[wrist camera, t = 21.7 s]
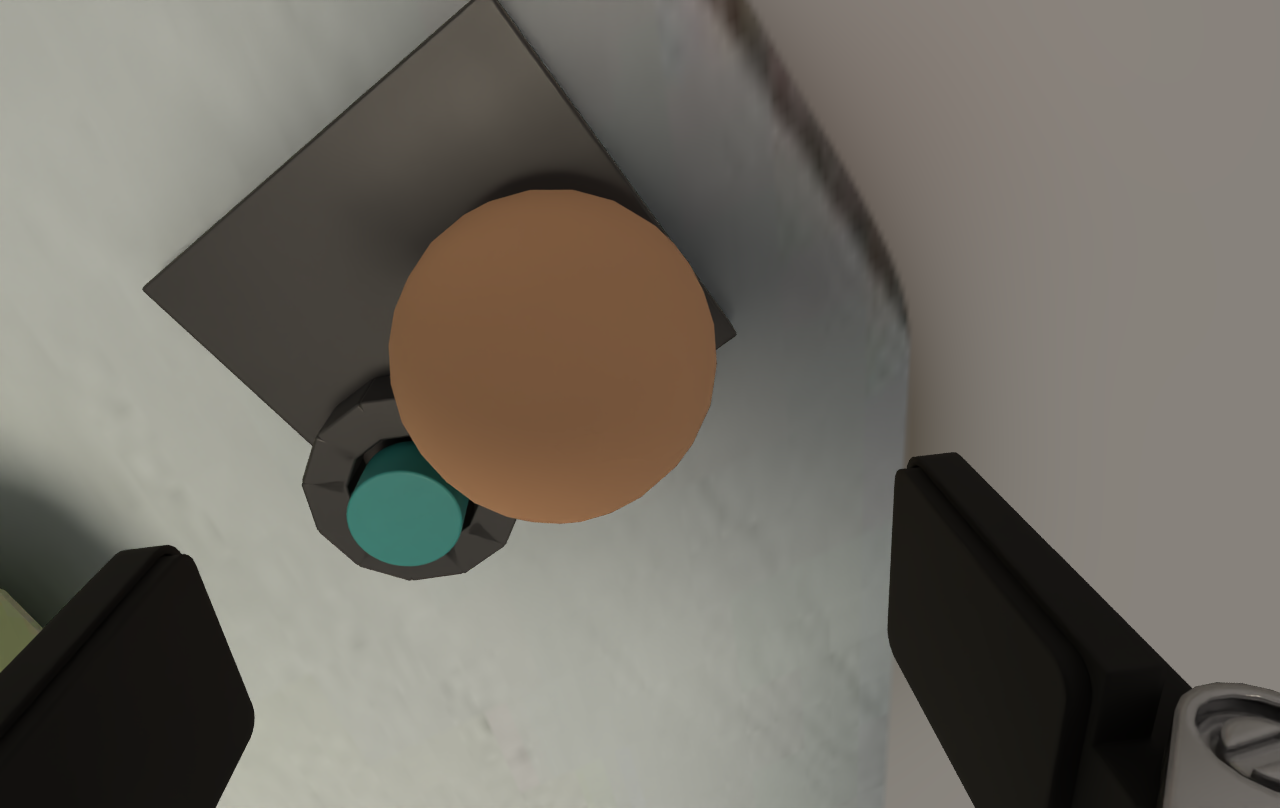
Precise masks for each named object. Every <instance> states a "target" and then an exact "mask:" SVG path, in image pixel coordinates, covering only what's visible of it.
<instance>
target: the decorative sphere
mask: <svg viewBox="0 0 1280 808" xmlns="http://www.w3.org/2000/svg"><path fill="white" fill-rule="evenodd" d="M42 629H43V628H42V627H41V626H40V625H39V624H38V623H37V622H36V621H35V620H34V619H33V618H32V617H31V616H30V615H29V614H28V613H27V612H26V611H25V610H24V609H23V608H22V607H21V606H20V605H19V604H18V603H17V602H16V601H15V600H14V599H13V598H12V597H11V596H10V595H9V594H8V593H7V592H6V591H5V590H2V589H0V672H1V671H2V670H3V669H4V668H5V667H6V666H7V665H8V664H9V663H10V662H11V661H12V660H13V659H14V658H15V657H16V656H17V655H18V654H19V653H20V652H21V651H22V650H23V649H24V648H25V647H26V646H27V645H28V644H29V643H30V642H31V641H32V640H33V639H34V638H35V636H36V635H37V634H38V633H39V632H40V631H41V630H42Z"/></svg>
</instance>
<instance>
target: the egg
mask: <svg viewBox="0 0 1280 808" xmlns="http://www.w3.org/2000/svg"><path fill="white" fill-rule="evenodd" d="M389 362H390V379H391V387H392V390H393V394H394V397H395V401H396V404H397V407H398V411H399V414H400V418H401V421H402V423H403V425H404V427H405V428H406V430H407V432H408V433H409V435H410V437H411V438H412V440H413V442H414V443H415V445H416V447H417V448H418V450H419V452H420V453H421V455H422V456H423V457H424V458H425V459H426V460H427V461H428V462H429V464H430V465H431V466H432V467H433V468H434V469H435V470H436V471H437V472H438V473H439V474H440V476H441V477H442V478H443V479H444V480H445V481H446V482H447V483H449V484H450V485H451V486H453V487H454V488H455V489H457V490H458V491H459V492H461V493H462V494H463V495H465V496H466V497H467V498H469V499H470V500H471V501H473V502H474V503H476V504H478V505H481V506H483V507H485V508H487V509H490V510H492V511H494V512H497V513H499V514H501V515H504V516H506V517H510V518H515V519H520V520H525V521H530V522H540V523H557V524H562V523H574V522H582V521H585V520H589V519H592V518H596V517H599V516H602V515H606V514H609V513H612V512H614V511H616V510H618V509H619V508H621V507H623V506H625V505H627V504H629V503H631V502H633V501H635V500H636V499H638V498H640V497H642V496H643V495H644V494H645V493H646V492H647V491H649V490H650V489H651V488H652V487H653V486H654V485H655V484H657V483H658V482H659V481H660V480H661V479H662V478H664V477H665V476H666V475H667V474H668V473H669V472H670V471H671V470H673V469H674V468H675V467H676V466H677V465H678V463H679V462H680V460H681V459H682V458H683V456H684V455H685V454H686V452H687V451H688V449H689V448H690V447H691V445H692V444H693V442H694V440H695V438H696V436H697V433H698V431H699V429H700V427H701V425H702V423H703V420H704V418H705V416H706V414H707V412H708V409H709V407H710V405H711V398H712V392H713V385H714V379H715V372H716V365H717V361H716V346H715V331H714V323H713V320H712V316H711V313H710V310H709V307H708V304H707V300H706V297H705V294H704V291H703V289H702V287H701V285H700V283H699V281H698V280H697V278H696V276H695V274H694V272H693V270H692V268H691V266H690V264H689V263H688V262H687V260H686V259H685V258H684V256H683V255H682V254H681V252H680V251H679V250H678V248H677V247H676V246H675V244H674V243H673V242H672V241H671V240H670V239H669V238H668V237H666V236H665V235H664V234H663V233H662V232H661V231H660V230H659V229H658V228H657V227H656V226H655V225H653V224H651V223H650V222H648V221H647V220H645V219H643V218H642V217H640V216H638V215H637V214H635V213H633V212H632V211H630V210H628V209H627V208H625V207H623V206H622V205H620V204H618V203H617V202H615V201H613V200H609V199H605V198H602V197H598V196H594V195H590V194H587V193H583V192H579V191H576V190H528V191H525V192H521V193H517V194H514V195H510V196H507V197H503V198H500V199H496V200H492V201H489V202H487V203H485V204H483V205H481V206H480V207H478V208H476V209H474V210H472V211H470V212H468V213H466V214H464V215H463V216H462V217H461V218H459V219H458V220H457V221H456V222H455V223H454V224H452V225H451V226H450V227H449V228H448V229H446V230H445V231H444V232H443V233H442V234H440V235H439V236H438V237H437V238H436V239H435V240H433V241H432V242H431V243H430V245H429V246H428V248H427V249H426V251H425V252H424V254H423V255H422V257H421V258H420V260H419V261H418V263H417V265H416V266H415V268H414V269H413V271H412V272H411V274H410V275H409V277H408V279H407V281H406V283H405V286H404V288H403V291H402V293H401V295H400V298H399V300H398V303H397V305H396V307H395V310H394V315H393V321H392V327H391V333H390V339H389Z"/></svg>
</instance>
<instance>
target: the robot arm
mask: <svg viewBox="0 0 1280 808" xmlns="http://www.w3.org/2000/svg"><path fill="white" fill-rule="evenodd" d="M888 638H889V643H890V647H891V650H892V653H893V655H894V657H895V659H896V661H897V663H898V665H899V667H900V668H901V670H902V672H903V674H904V676H905V678H906V679H907V681H908V683H909V685H910V687H911V689H912V691H913V693H914V695H915V696H916V698H917V700H918V702H919V704H920V706H921V708H922V709H923V711H924V713H925V715H926V717H927V719H928V721H929V723H930V724H931V726H932V728H933V730H934V732H935V734H936V735H937V737H938V739H939V741H940V743H941V745H942V747H943V748H944V751H945V752H946V754H947V756H948V758H949V760H950V762H951V764H952V765H953V767H954V769H955V771H956V773H957V775H958V777H959V778H960V780H961V782H962V784H963V786H964V788H965V790H966V791H967V793H968V795H969V797H970V799H971V801H972V803H973V805H974V806H975V808H1280V693H1279V692H1276V691H1274V690H1270V689H1265V688H1261V687H1257V686H1251V685H1247V684H1243V683H1220V682H1216V683H1211V684H1206V685H1201V686H1196V687H1194V688H1193V689H1192V688H1191V687H1190V686H1189V685H1188V684H1187V683H1186V682H1185V681H1184V680H1183V679H1182V678H1181V677H1180V676H1179V675H1178V674H1177V673H1176V672H1175V671H1174V670H1173V669H1172V668H1171V667H1170V666H1169V665H1168V664H1167V662H1166V661H1164V659H1163V658H1162V657H1161V656H1159V654H1158V653H1157V652H1155V650H1154V649H1152V647H1151V646H1150V645H1149V644H1148V643H1147V642H1146V641H1145V640H1144V639H1142V637H1140V635H1139V634H1138V633H1137V632H1136V631H1135V630H1134V629H1133V628H1132V627H1131V626H1130V625H1128V623H1127V622H1126V621H1125V620H1124V619H1123V618H1122V617H1121V616H1120V615H1119V614H1118V613H1117V612H1116V611H1115V610H1113V608H1112V607H1111V606H1110V605H1109V604H1108V603H1107V602H1106V601H1105V600H1104V599H1103V598H1102V597H1101V596H1100V595H1099V594H1098V593H1097V592H1096V591H1095V590H1094V589H1093V588H1092V587H1091V586H1090V585H1089V584H1088V583H1087V582H1086V581H1085V580H1084V579H1083V578H1082V577H1081V576H1080V575H1079V574H1078V573H1077V572H1076V571H1075V570H1074V569H1073V568H1072V567H1071V566H1070V565H1069V564H1068V563H1067V562H1066V561H1065V560H1064V559H1063V558H1062V557H1061V556H1060V555H1059V554H1058V553H1057V552H1056V551H1055V550H1054V549H1053V548H1052V547H1051V546H1050V545H1049V544H1048V543H1047V542H1046V541H1045V540H1044V539H1043V538H1042V537H1041V536H1040V535H1039V534H1038V533H1037V532H1036V531H1035V530H1034V529H1033V528H1032V527H1031V526H1030V525H1029V524H1028V523H1027V522H1026V521H1025V520H1024V519H1023V518H1022V517H1021V516H1020V515H1019V514H1018V513H1017V512H1016V511H1015V510H1014V509H1013V508H1012V507H1011V506H1010V505H1009V504H1008V503H1007V502H1006V501H1005V500H1004V499H1003V498H1002V497H1001V496H1000V495H999V494H998V493H997V492H996V491H995V490H994V489H993V488H992V487H991V486H990V485H989V484H988V483H987V482H986V481H985V480H984V479H983V478H982V477H981V476H980V475H979V474H978V473H977V472H976V471H975V470H974V469H973V468H972V467H971V466H970V465H969V464H968V463H967V462H966V461H965V460H964V459H963V458H962V457H961V456H960V455H959V454H957V453H954V452H951V453H943V454H934V455H926V456H917V457H912V458H911V459H910V460H909V462H908V465H907V469H899V470H898V471H897V473H896V475H895V484H894V504H893V525H892V545H891V566H890V586H889V607H888ZM254 718H255V717H254V709H253V706H252V703H251V700H250V698H249V695H248V693H247V690H246V688H245V685H244V683H243V681H242V678H241V676H240V673H239V671H238V668H237V666H236V663H235V661H234V658H233V656H232V653H231V651H230V648H229V646H228V643H227V641H226V638H225V636H224V633H223V631H222V628H221V626H220V623H219V621H218V618H217V616H216V614H215V611H214V609H213V606H212V604H211V601H210V599H209V596H208V594H207V591H206V589H205V586H204V584H203V581H202V579H201V576H200V574H199V571H198V569H197V566H196V564H195V562H194V560H193V559H192V558H191V557H190V556H189V555H186V554H181V553H180V551H178V550H177V549H176V548H175V547H173V546H170V545H164V546H155V547H147V548H138V549H130V550H124V551H120V552H119V553H117V554H116V555H114V556H113V557H112V558H111V559H110V560H109V561H108V562H107V564H106V565H105V566H104V567H103V568H102V569H101V570H100V571H99V572H98V573H97V574H96V575H95V576H94V577H93V578H92V579H91V580H90V581H89V582H88V583H87V584H86V585H85V586H84V587H83V588H82V589H81V590H80V591H79V592H78V593H77V594H76V595H75V596H74V597H73V598H72V599H71V601H70V602H69V603H68V604H67V605H66V606H65V607H64V608H63V609H62V610H61V611H60V612H59V613H58V614H57V615H56V616H55V617H54V618H53V619H52V620H51V621H50V622H49V623H48V624H47V625H46V626H45V627H44V628H43V629H42V630H41V631H40V632H39V633H38V634H37V635H36V636H35V638H34V639H33V640H32V641H31V642H30V643H29V644H28V645H27V646H26V647H25V648H24V649H23V650H22V651H21V652H20V653H19V654H18V655H17V656H16V657H15V658H14V659H13V660H12V661H11V662H10V663H9V664H8V665H7V666H6V667H5V668H4V669H3V670H2V671H1V672H0V808H216V806H217V804H218V802H219V800H220V798H221V796H222V794H223V792H224V790H225V788H226V786H227V784H228V782H229V780H230V778H231V776H232V774H233V772H234V770H235V768H236V766H237V764H238V762H239V760H240V758H241V756H242V754H243V752H244V750H245V748H246V746H247V744H248V742H249V740H250V738H251V735H252V732H253V728H254Z"/></svg>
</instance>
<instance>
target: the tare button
mask: <svg viewBox="0 0 1280 808" xmlns="http://www.w3.org/2000/svg"><path fill="white" fill-rule="evenodd" d="M468 501H469V498H467V497H466V496H465V495H463V494H462V493H461V492H459V491H458V490H457V489H455V488H454V487H453V486H451V485H450V484H449V483H447V482H446V481H445V480H444V479H443V478H442V477H441V476H440V474H439V473H438V472H437V471H436V470H435V469H434V468H433V467H432V466H431V465H430V464H429V462H428V461H427V460H426V459H425V458H424V457H423V456H422V455H421V453H420V452H419V450H418V448H417V447H416V445H415V443H414V442H413V441H407V442H400V443H396V444H393V445H390V446H388V447H386V448H384V449H382V450H381V451H379V452H378V453H377V454H375V455H374V456H373V457H372V458H371V460H370V461H369V462H368V464H367V465H366V467H365V469H364V471H363V473H362V475H361V477H360V479H359V481H358V483H357V485H356V487H355V489H354V491H353V493H352V495H351V497H350V499H349V502H348V506H347V513H346V516H347V523H348V527H349V530H350V532H351V535H352V536H353V538H354V540H355V541H356V542H357V544H358V545H359V546H360V547H361V548H362V549H363V550H364V551H365V552H367V553H368V554H369V555H371V556H373V557H374V558H376V559H378V560H380V561H383V562H386V563H388V564H393V565H398V566H419V565H424V564H428V563H431V562H433V561H435V560H438V559H439V558H441V557H442V556H444V555H445V554H446V553H448V552H449V551H450V550H451V549H452V548H453V547H454V545H455V544H456V542H457V541H458V539H459V537H460V534H461V531H462V527H463V523H464V518H465V514H466V510H467V506H468Z"/></svg>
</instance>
